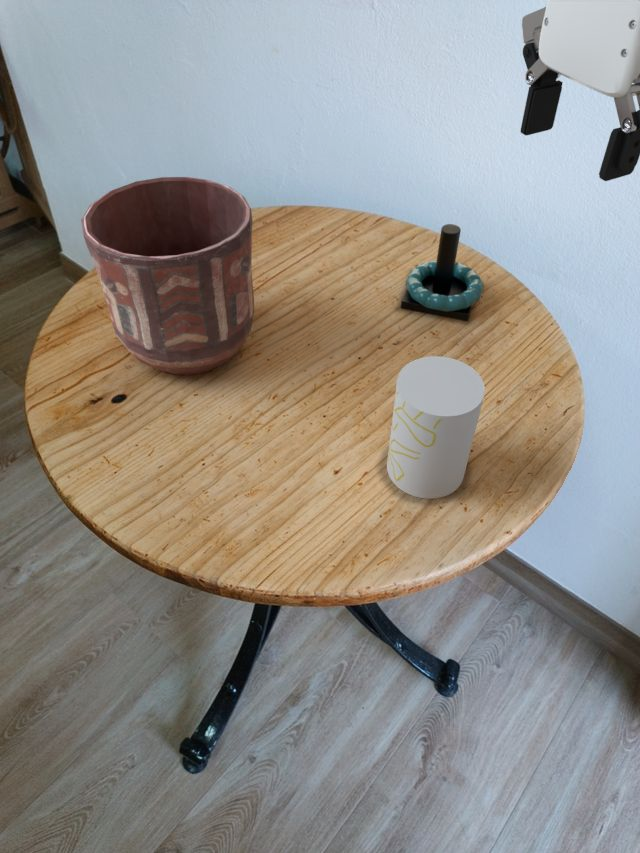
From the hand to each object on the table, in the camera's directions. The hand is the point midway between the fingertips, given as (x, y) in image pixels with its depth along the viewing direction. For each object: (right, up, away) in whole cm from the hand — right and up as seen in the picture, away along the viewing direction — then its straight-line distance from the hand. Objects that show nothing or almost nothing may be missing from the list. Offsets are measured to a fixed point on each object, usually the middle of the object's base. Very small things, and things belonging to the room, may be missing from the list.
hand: (573, 152), depth 58 cm
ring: (-5, -4, +33) cm, 34 cm away
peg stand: (-5, -5, +35) cm, 36 cm away
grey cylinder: (-10, -28, +14) cm, 33 cm away
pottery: (-38, -13, +28) cm, 49 cm away
